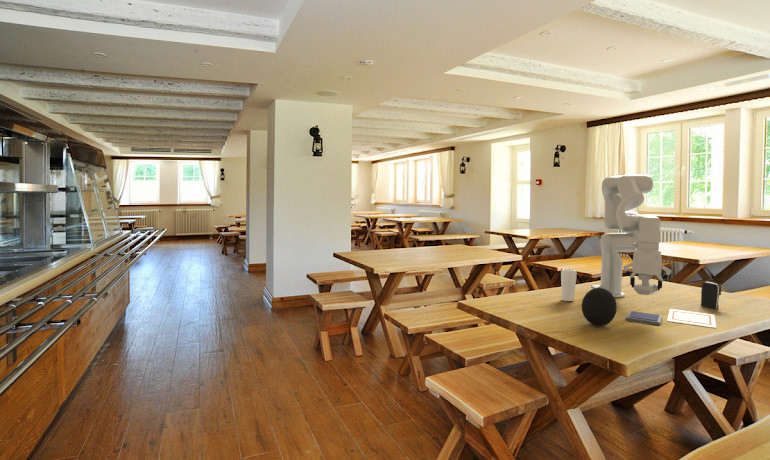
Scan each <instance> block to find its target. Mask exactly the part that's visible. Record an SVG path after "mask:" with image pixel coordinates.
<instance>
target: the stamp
mask: <svg viewBox="0 0 770 460" xmlns="http://www.w3.org/2000/svg"><path fill="white" fill-rule="evenodd" d="M637 278H638V280H639V281H641V283H639V284H635V286H634V287H633V290H634V291H635V292H636V293H637V294H638V295H641V296H643V295H644V296H649V295H650V296H651V295H652V294H654V293H656V292H659V291H658V290H657V289H658V284H656V283H655V284H653V283H650V282H649V281H650V280H652V279H653V275H644V274H637Z"/></svg>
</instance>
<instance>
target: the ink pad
mask: <svg viewBox="0 0 770 460" xmlns="http://www.w3.org/2000/svg"><path fill="white" fill-rule="evenodd" d="M662 319H663V315H661V314H655V313H648V312H640V311H633V310H629V311H628V312H627V315H626V316H625V321H627V320H629V322H633V321H635V323H640V322H641V323H642V324H647V325H653V324H654V325H656V326H661V323H662Z"/></svg>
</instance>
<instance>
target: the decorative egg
mask: <svg viewBox="0 0 770 460" xmlns="http://www.w3.org/2000/svg"><path fill="white" fill-rule="evenodd" d="M617 307H618V306H617V301H616V297H614V296H613V295H612V294H611V293H610V292H609V291H608V290H606V289H604V288H594V289H593V288H591V289H590V290H588V291H587V292H586V294H584V296H583V298H582V302H581V311H582V315H583V316H584V318H585V320H586V321H587V322H588V323H589V324H590V325H593V326H595V325H596V326H595V327H604V326H607V325H608V324H610V323H611V322H612V321H613V320H614V319H615V317H616V313H617V311H618V310H617Z"/></svg>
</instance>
